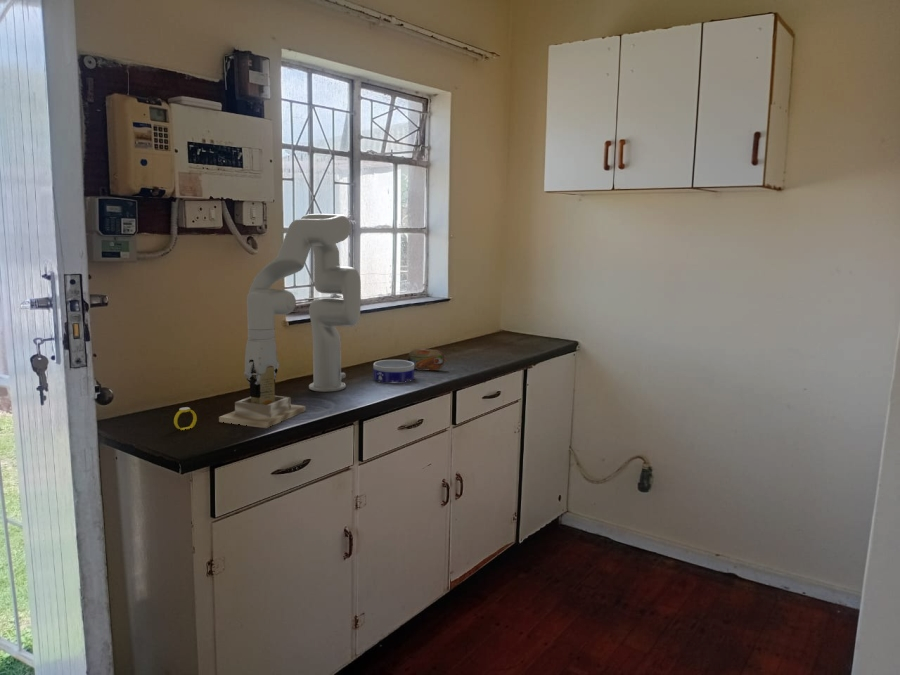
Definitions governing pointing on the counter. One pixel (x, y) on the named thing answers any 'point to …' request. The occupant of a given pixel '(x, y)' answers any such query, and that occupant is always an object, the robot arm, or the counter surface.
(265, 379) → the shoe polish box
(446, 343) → the counter surface
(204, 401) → the counter surface
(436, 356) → the food package
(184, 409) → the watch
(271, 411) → the socket board
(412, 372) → the dog bowl
